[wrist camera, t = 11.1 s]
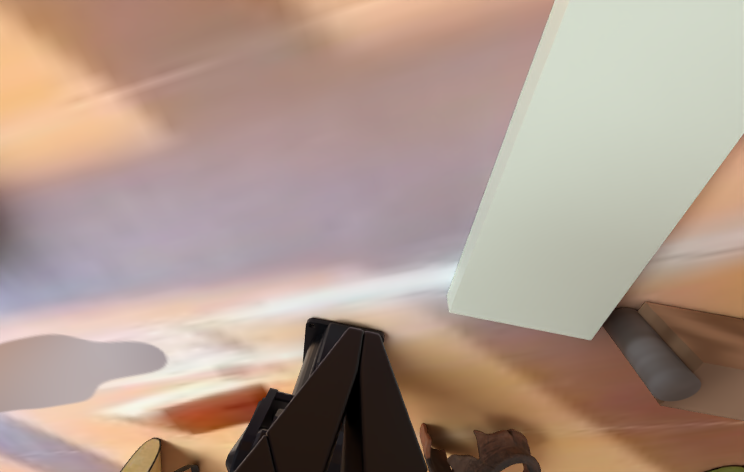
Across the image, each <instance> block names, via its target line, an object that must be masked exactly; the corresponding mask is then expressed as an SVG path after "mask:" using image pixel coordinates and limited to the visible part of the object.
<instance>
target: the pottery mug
mask: <svg viewBox="0 0 744 472" xmlns="http://www.w3.org/2000/svg"><path fill="white" fill-rule="evenodd" d="M474 434H475V435H476V439H477V445H478V450H479V457H480V459H476V458H474V457H473V456H470V455H461V456H460V455H451V456H450V457H449V458H448V459H447V456H446V452H445V450H438V449H434V448H432V447H431V444H432V439H431V437H430V435H429V434H428V430H427V426H426V424H424V423H422V425H421V428H420V439H421V443H422V446H423V451H424V457H425V459H426V463H427V465H428V469H429V472H500V471H502V470H503V469H505V468H507V467H509V466H511V465H513V464H516V463H523V466H524V470H523V472H541V469H540V465H539V463H538V462H537V460H536V459H535V458H534V457H533V456H531V453H530V449H529V445H528V442H527V439H526V437H525V436H524V435H523V434H521V433H520V432H518V431H515V430H514V429H509V430H507V431H506V430H500V431H497V432H495V433H492V434H485V433H483V432H480V431H476V430H474ZM450 466H451V468H452V470H451V468H450Z"/></svg>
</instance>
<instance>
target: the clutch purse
mask: <svg viewBox="0 0 744 472" xmlns="http://www.w3.org/2000/svg"><path fill="white" fill-rule="evenodd" d="M160 449H161V440H159V439H158V438H152V439H150V440H148V441H146V442H145V443H144V444H143V445H142V446H141V447H140V448H139V449H138V450H137V451H136V452H135V453H134V454H133V455H132V457H131V458H130V459H129V461H128V462H127V463H126V464H125V466H124V467H123V469H122V470H121V471H120V472H161V459H160ZM189 468H191V472H199V468H198V466H197V465H187V466H184V467H182V468H180V469H178V470H176V471H175V472H184V471H185V470H187V469H189Z"/></svg>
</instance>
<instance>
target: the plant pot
mask: <svg viewBox="0 0 744 472" xmlns="http://www.w3.org/2000/svg"><path fill="white" fill-rule="evenodd" d="M708 472H744V468H743V467H737V466H733V467H732V466H729V467H722V468H719V469H716V470H713V471H708Z"/></svg>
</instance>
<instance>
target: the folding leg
mask: <svg viewBox="0 0 744 472" xmlns="http://www.w3.org/2000/svg"><path fill="white" fill-rule="evenodd" d="M603 327H604V328H605V330H606V331H607V332H608V334H609V335H610V336H611V338H612V339H613V341H614V342H615V343H616V345H617V346H618V348H619V349H620V350H621V352H622V353H623V355H624V356H625V357H626V359H627V360H628V361H629V363H630V364H631V366H632V367H633V368H634V370H635V371H636V373H637V374H638V375H639V377H640V378H641V379H642V381H643V382H644V384H645V385H646V386H647V388H648V389H649V391H650V392H651V393H652V395H653V396H654V398H655V399H656V400H657V402H658V403H659V404H660V405H661V406H666V407H671V408H677V409H682V410H688V411H693V412H698V413H704V414H709V415H714V416H720V417H725V418H731V419H736V420H741V421H744V319H738V318H733V317H727V316H722V315H716V314H710V313H705V312H699V311H694V310H688V309H683V308H677V307H671V306H666V305H660V304H655V303H649V302H644V304H643V305H642V306H641V308H640V309H639V310H638V311H637V310H635V309H632V308H620V309H616V310H614V311H612V313H611V314H610V315H609V317H608V318H607V319H606V321H605V322H604V323H603Z"/></svg>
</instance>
